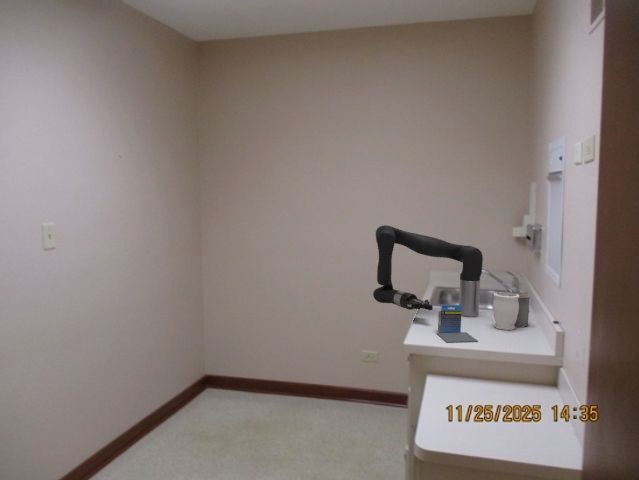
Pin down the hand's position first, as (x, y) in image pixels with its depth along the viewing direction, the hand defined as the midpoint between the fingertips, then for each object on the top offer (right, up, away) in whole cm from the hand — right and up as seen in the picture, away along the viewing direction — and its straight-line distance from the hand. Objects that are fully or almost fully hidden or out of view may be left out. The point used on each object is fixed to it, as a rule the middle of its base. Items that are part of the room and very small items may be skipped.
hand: (431, 307), depth 210 cm
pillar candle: (+39, -8, +3) cm, 40 cm away
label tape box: (+6, -9, -8) cm, 14 cm away
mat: (+7, -10, -16) cm, 20 cm away
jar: (+32, -9, -2) cm, 33 cm away
